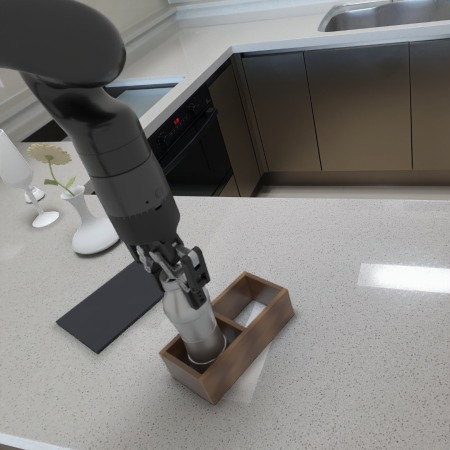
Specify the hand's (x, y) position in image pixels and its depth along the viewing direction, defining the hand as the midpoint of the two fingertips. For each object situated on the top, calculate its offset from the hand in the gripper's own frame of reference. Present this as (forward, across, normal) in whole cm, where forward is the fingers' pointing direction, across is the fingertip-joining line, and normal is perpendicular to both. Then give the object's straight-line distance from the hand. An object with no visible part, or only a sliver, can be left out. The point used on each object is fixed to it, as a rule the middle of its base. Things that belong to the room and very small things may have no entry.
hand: (183, 296), depth 62 cm
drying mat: (+16, -27, +1) cm, 31 cm away
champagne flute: (+16, -72, +9) cm, 74 cm away
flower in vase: (+16, -49, +10) cm, 52 cm away
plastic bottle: (+16, 0, 0) cm, 16 cm away
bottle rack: (+16, 0, +5) cm, 16 cm away
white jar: (+16, -86, +13) cm, 88 cm away
